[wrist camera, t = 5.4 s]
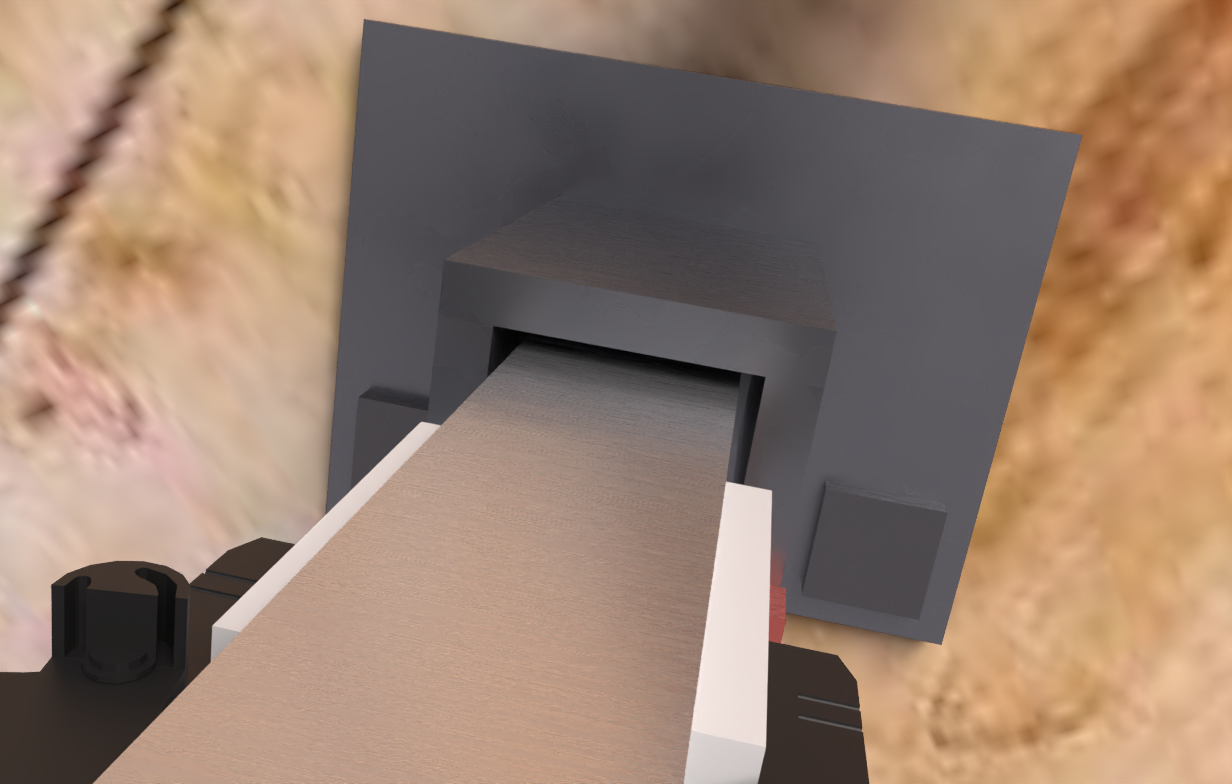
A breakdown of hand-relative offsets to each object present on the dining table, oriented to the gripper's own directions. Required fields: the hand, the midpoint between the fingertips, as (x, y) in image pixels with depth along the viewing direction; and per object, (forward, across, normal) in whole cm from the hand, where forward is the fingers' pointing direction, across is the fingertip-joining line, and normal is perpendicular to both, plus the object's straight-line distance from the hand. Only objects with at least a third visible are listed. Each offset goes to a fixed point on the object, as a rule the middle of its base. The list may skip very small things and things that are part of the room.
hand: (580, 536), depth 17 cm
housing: (+14, 0, 0) cm, 14 cm away
